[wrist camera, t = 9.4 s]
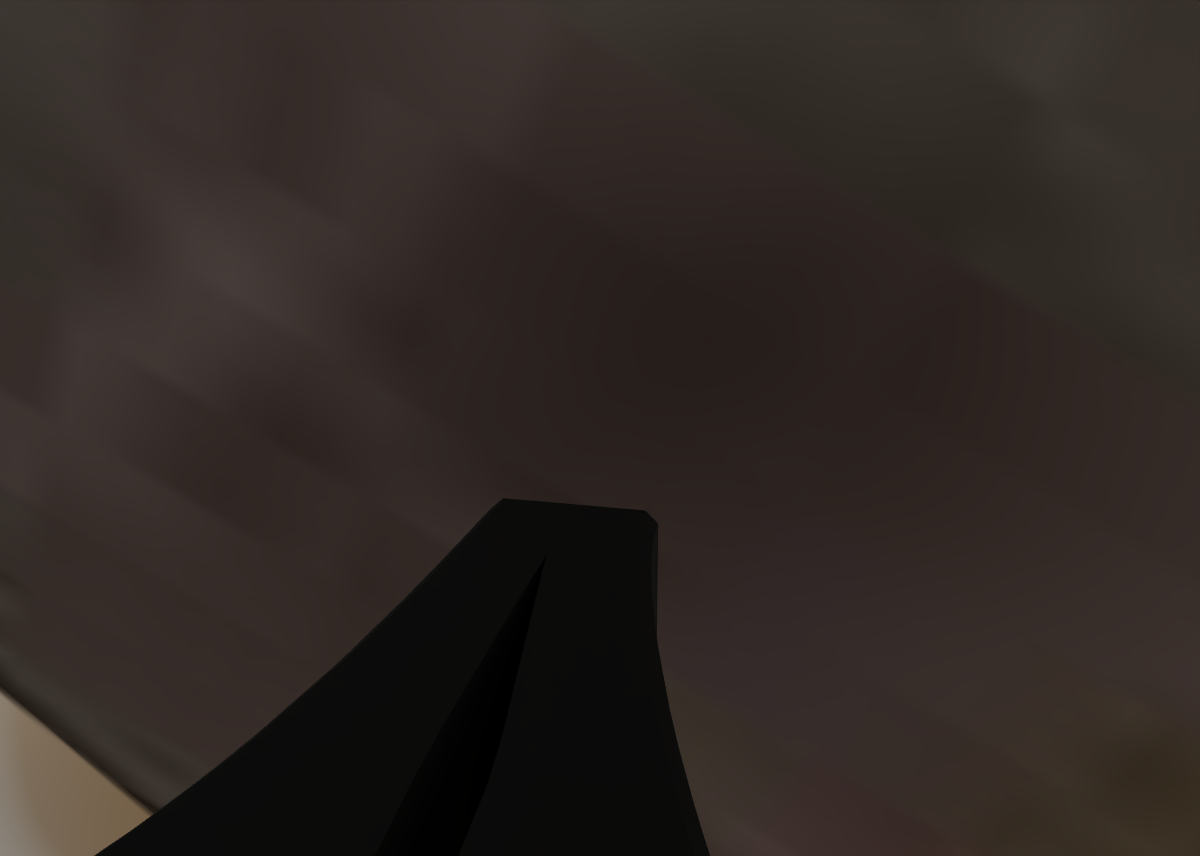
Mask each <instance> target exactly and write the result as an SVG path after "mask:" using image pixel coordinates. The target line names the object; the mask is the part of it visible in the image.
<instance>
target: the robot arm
mask: <svg viewBox="0 0 1200 856" xmlns="http://www.w3.org/2000/svg"><path fill="white" fill-rule="evenodd" d="M657 570H658V523H657V522H656V521H655V520H654V519H653V518H652V517H651V516H650V515H649V514H648V513H647V512H646V511H644V510H633V509H621V508H610V507H598V506H586V505H575V504H563V503H552V502H540V501H529V500H517V499H506V498H503V499H502V500H501V501H500V502H498V503H497V504H496V505H495V506H493V507H492V508H491V509H490V510H489V511H488V512H487V513H486V514H485V515H484V516H483V517H482V519H481V520H480V521H479V522H478V523H477V524H476V525H475V526H474V527H473V528H472V529H471V530H470V531H469V532H468V533H467V534H466V536H465V537H464V538H463V539H462V540H461V541H460V542H459V543H458V544H457V545H456V546H455V547H454V548H453V549H452V550H451V551H450V552H449V554H448V555H447V556H446V557H445V558H444V559H443V560H442V561H441V562H440V563H439V564H438V565H437V566H436V567H435V568H434V569H433V570H432V571H431V572H430V573H429V574H428V575H427V576H426V577H425V578H424V579H423V580H422V581H421V583H420V584H419V585H418V586H417V587H416V588H415V589H414V590H413V591H412V592H411V593H410V594H409V595H408V596H407V597H406V598H405V599H404V600H403V601H402V602H401V603H400V604H399V605H398V606H397V607H396V608H395V609H393V610H392V611H391V612H390V613H389V614H388V615H387V616H386V617H385V618H384V619H383V620H382V621H381V622H380V623H379V624H378V625H377V626H376V627H375V628H374V629H373V630H372V631H371V632H370V633H369V634H368V635H367V636H366V637H365V638H364V639H363V640H362V641H360V642H359V643H358V644H357V645H356V646H355V647H354V648H353V649H352V650H351V651H350V652H349V653H348V654H347V655H346V656H345V657H344V658H343V659H342V660H341V661H339V662H338V663H337V664H336V665H335V666H334V667H333V668H332V669H331V670H330V671H328V672H327V673H326V674H325V675H324V676H323V677H322V678H320V679H319V680H318V681H317V682H316V683H315V684H314V685H312V686H311V687H310V688H309V689H308V690H307V691H306V692H304V693H303V694H302V695H301V696H300V697H299V698H298V699H296V700H295V701H294V702H293V703H292V704H291V705H290V706H288V707H287V708H286V709H285V710H284V711H283V712H282V713H280V714H279V715H278V716H277V717H276V718H275V719H274V720H272V721H271V722H270V723H269V724H268V725H267V726H266V727H264V728H263V729H262V730H261V731H260V732H259V733H257V734H256V735H255V736H254V737H253V738H251V739H250V740H249V741H248V742H246V743H245V744H244V745H243V746H241V747H240V748H239V749H238V750H237V751H235V752H234V753H233V754H232V755H230V756H229V757H228V758H227V759H225V760H224V761H223V762H222V763H220V764H219V765H218V766H217V767H215V768H214V769H213V770H211V771H210V772H209V773H208V774H206V775H205V776H204V777H202V778H201V779H200V780H199V781H197V782H196V783H195V784H193V785H192V786H191V787H189V788H188V789H187V790H185V791H184V792H183V793H181V794H180V795H179V796H177V797H176V798H175V799H173V800H172V801H171V802H169V803H168V804H167V805H165V806H164V807H163V808H161V809H160V810H159V811H157V812H156V813H155V814H153V815H152V816H150V817H149V818H148V819H146V820H145V821H144V822H142V823H141V824H140V825H138V826H137V827H135V828H134V829H133V830H131V831H130V832H128V833H127V834H125V835H124V836H123V837H121V838H119V839H118V840H117V841H115V842H114V843H112V844H111V845H109V846H108V847H106V848H105V849H103V850H102V851H100V852H99V853H98V854H96V855H95V856H710V855H709V851H708V848H707V845H706V842H705V839H704V836H703V832H702V829H701V826H700V823H699V819H698V816H697V812H696V809H695V806H694V802H693V799H692V795H691V792H690V788H689V784H688V780H687V777H686V773H685V769H684V766H683V762H682V758H681V754H680V751H679V747H678V743H677V739H676V734H675V730H674V726H673V721H672V717H671V713H670V708H669V703H668V698H667V692H666V687H665V682H664V676H663V671H662V666H661V660H660V655H659V650H658V643H657Z"/></svg>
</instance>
